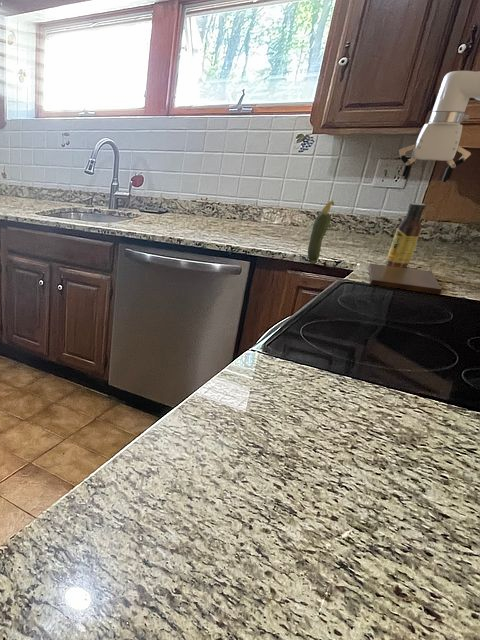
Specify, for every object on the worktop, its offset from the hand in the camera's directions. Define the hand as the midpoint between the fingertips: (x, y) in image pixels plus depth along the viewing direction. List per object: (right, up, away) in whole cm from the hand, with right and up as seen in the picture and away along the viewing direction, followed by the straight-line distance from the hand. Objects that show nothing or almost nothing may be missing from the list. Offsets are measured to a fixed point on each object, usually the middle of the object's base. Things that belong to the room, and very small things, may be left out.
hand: (424, 180), depth 160 cm
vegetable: (-28, -23, +12) cm, 38 cm away
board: (-11, -31, -6) cm, 34 cm away
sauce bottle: (0, -25, +11) cm, 27 cm away
